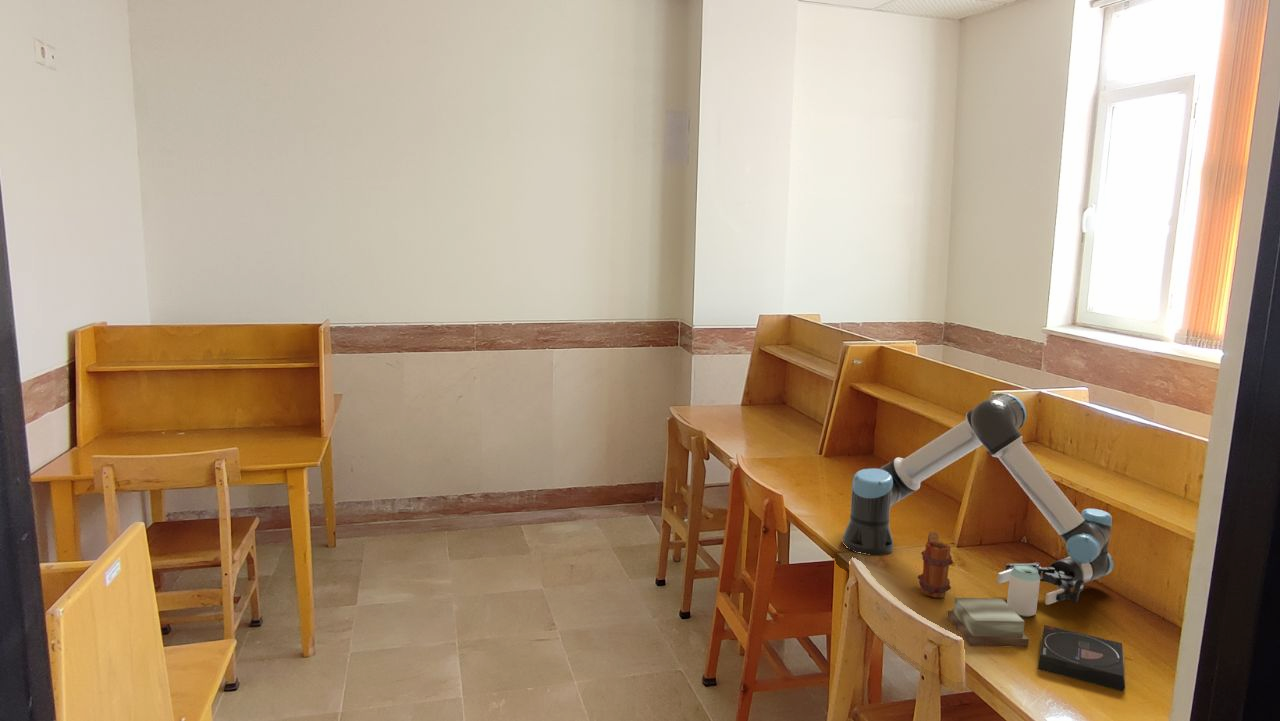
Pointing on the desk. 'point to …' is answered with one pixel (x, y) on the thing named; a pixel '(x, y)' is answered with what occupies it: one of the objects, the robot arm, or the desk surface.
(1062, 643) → the portable cd player
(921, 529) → the desk surface
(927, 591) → the mug
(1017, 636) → the two-tier square plinth
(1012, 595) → the can
